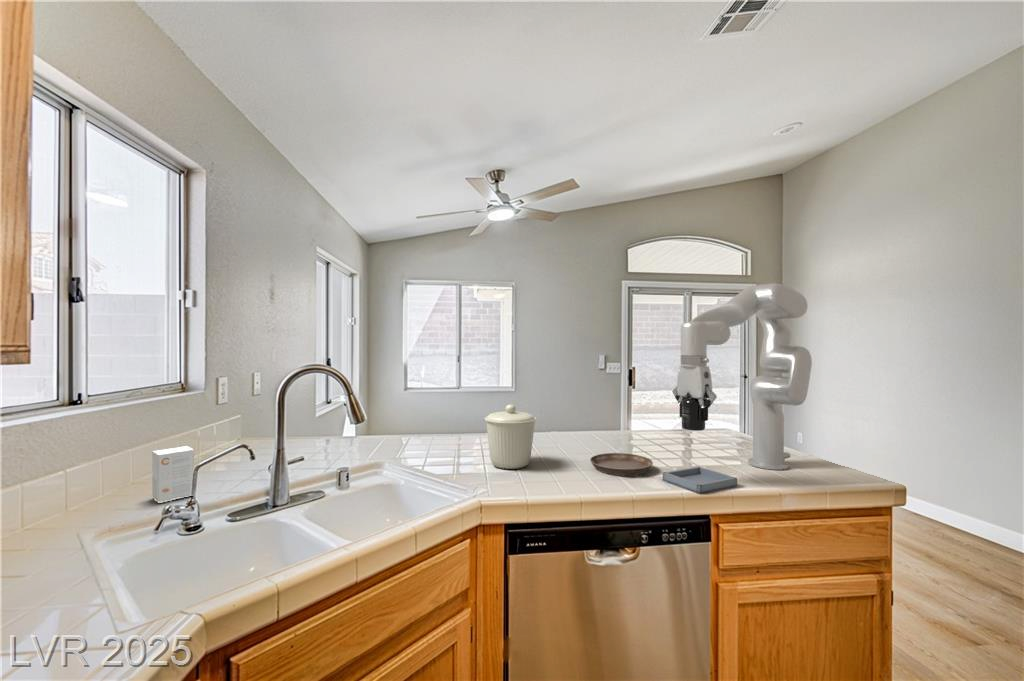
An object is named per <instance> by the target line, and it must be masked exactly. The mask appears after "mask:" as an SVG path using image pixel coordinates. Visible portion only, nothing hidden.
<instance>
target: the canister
mask: <svg viewBox="0 0 1024 681" xmlns="http://www.w3.org/2000/svg"><path fill="white" fill-rule="evenodd" d="M516 409H517V407H516V406H515V405H514V404H507V405H506V406H505V411H496V412H492V413H489V414H488V415H487V416H485V417H484V421H486V430H487V441H488V443H487V444H488V450H489V457H490V461H491V464H492V465H493V466H494V467H496V468H499V469H504V468H505V470H515V469H523V468H525V467H526V466H528V464H530V463H529V462H530V460H531V458H532V457H531V455H532V448H533V440H534V433H535V422H536V421H537V420H538V418H537V417H536V416H534V415H533V414H532V413H529V412H523V411H516Z"/></svg>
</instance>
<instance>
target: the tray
mask: <svg viewBox="0 0 1024 681" xmlns="http://www.w3.org/2000/svg"><path fill="white" fill-rule="evenodd" d="M662 481H663V482H665V481H666V482H665V483H668V484H671V485H674V486H676V487H679V488H681V489H685V490H687V491H689V492H693V493H695V494H699V495H701V494H706V493H711V492H712V493H713V492H717V491H722V490H725V489H732V488H736V487H738V477H735V476H732V475H728V474H725V473H722V472H718V471H715V470H712V469H709V468H706V467H702V466H694V467H687V468H683V469H682V468H681V469H674V470H669V471H664V472H662ZM731 487H732V488H731Z"/></svg>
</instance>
